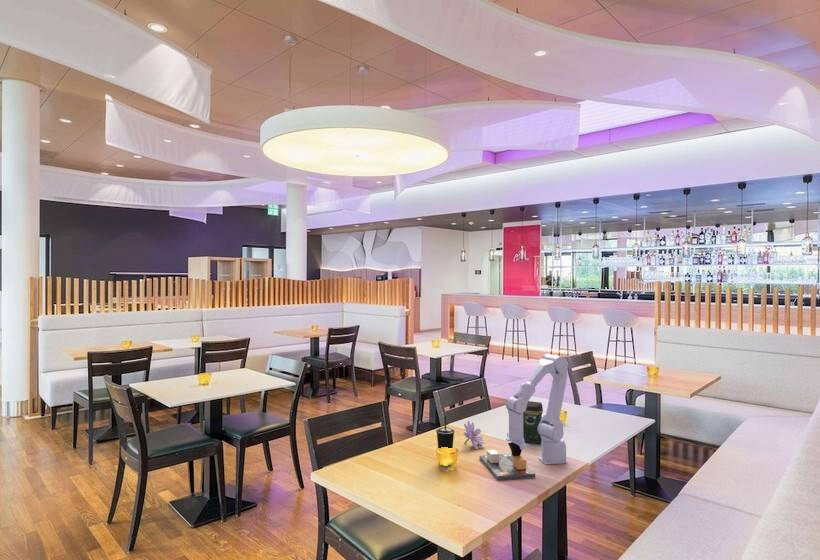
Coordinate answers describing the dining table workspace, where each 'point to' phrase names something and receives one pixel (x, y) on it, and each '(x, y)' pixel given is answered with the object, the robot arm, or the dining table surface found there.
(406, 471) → the dining table surface
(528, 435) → the coffee jar
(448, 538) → the dining table surface
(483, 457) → the breaker panel
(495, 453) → the switch
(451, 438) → the drinking cup
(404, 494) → the dining table surface
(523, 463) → the plain orange cube
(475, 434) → the water lily
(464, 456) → the dining table surface
